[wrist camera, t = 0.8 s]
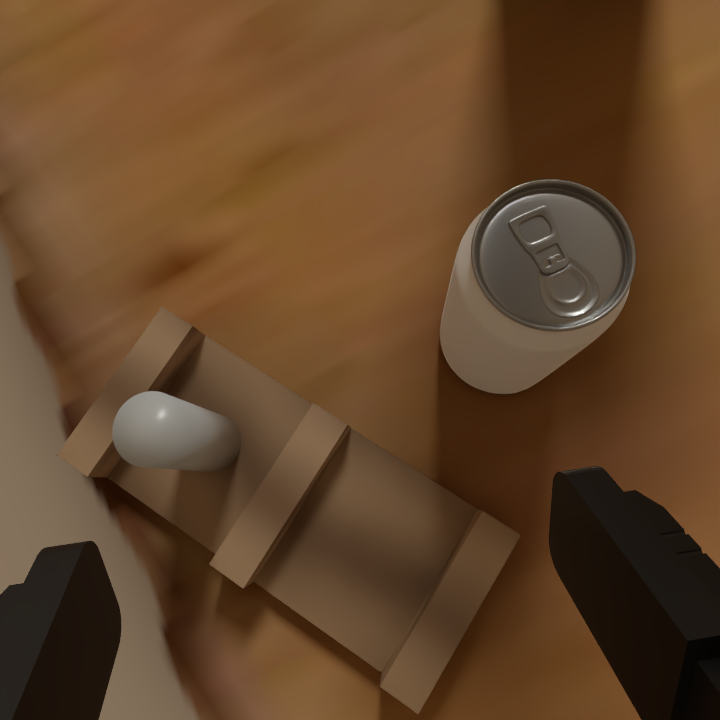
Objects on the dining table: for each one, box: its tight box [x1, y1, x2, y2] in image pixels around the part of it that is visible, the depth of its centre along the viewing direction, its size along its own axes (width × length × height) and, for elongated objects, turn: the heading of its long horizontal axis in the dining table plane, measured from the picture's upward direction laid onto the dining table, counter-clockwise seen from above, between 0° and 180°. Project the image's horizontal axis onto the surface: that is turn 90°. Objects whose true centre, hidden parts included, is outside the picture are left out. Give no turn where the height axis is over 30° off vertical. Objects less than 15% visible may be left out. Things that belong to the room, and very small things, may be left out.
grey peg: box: [112, 391, 241, 472], centre depth 27 cm, size 3×3×8 cm
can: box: [440, 179, 636, 394], centre depth 26 cm, size 6×6×12 cm
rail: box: [57, 307, 521, 714], centre depth 30 cm, size 9×21×3 cm, turn 57°
